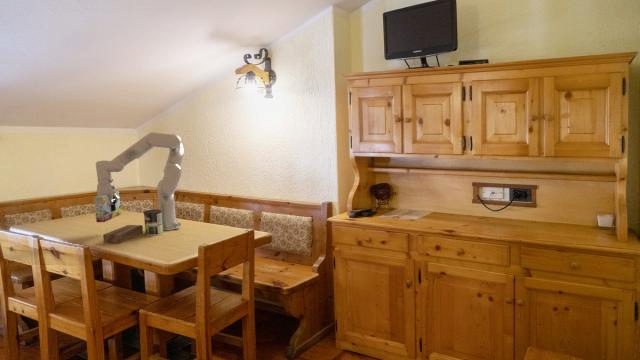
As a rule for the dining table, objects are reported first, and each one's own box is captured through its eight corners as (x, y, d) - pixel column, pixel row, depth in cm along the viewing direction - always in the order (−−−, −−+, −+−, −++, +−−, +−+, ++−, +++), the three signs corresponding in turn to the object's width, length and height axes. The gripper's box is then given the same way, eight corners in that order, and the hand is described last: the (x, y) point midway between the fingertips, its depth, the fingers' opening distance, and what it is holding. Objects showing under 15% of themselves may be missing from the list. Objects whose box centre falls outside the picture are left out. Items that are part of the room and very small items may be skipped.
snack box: (105, 222, 262) (102, 196, 260) (96, 222, 262) (92, 197, 260) (122, 214, 283) (119, 190, 281) (113, 214, 283) (110, 191, 281)
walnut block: (143, 233, 278) (142, 225, 277) (120, 243, 254) (119, 234, 254) (127, 233, 279) (127, 225, 279) (103, 243, 256) (103, 234, 255)
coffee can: (149, 236, 268) (148, 213, 267) (142, 234, 276) (140, 211, 274) (166, 233, 276) (164, 210, 274) (158, 231, 283) (157, 208, 281)
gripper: (121, 180, 272) (125, 209, 274) (95, 180, 275) (99, 210, 277) (114, 181, 265) (118, 212, 267) (87, 182, 267) (91, 212, 270)
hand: (108, 210), depth 272 cm, fingers closed on snack box, 6 cm apart
